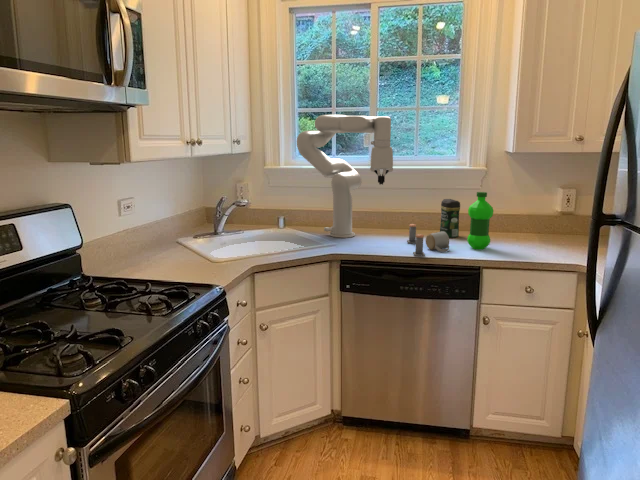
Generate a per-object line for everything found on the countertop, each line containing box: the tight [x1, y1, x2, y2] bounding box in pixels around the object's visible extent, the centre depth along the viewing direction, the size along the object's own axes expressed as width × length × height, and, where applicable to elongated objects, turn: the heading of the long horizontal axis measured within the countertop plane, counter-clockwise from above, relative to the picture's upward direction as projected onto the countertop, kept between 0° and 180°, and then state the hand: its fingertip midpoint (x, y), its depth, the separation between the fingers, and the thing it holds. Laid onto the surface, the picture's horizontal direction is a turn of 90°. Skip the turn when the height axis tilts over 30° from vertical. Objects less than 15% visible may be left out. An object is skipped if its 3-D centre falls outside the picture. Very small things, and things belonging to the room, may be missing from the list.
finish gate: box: [406, 223, 426, 257], centre depth 220 cm, size 4×28×9 cm, turn 176°
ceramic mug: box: [425, 231, 450, 253], centre depth 218 cm, size 11×8×8 cm
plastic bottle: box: [466, 191, 494, 251], centre depth 219 cm, size 10×10×25 cm
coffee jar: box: [439, 198, 461, 239], centre depth 245 cm, size 10×8×19 cm
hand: (381, 184), depth 231 cm, fingers closed
